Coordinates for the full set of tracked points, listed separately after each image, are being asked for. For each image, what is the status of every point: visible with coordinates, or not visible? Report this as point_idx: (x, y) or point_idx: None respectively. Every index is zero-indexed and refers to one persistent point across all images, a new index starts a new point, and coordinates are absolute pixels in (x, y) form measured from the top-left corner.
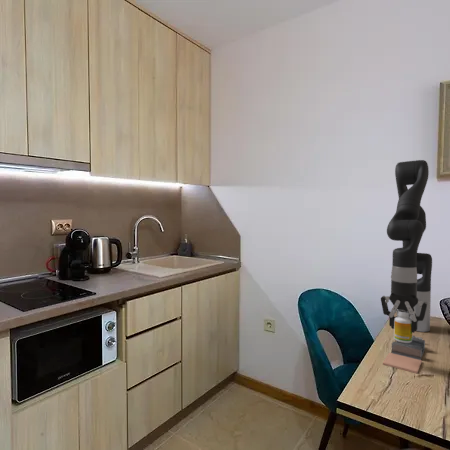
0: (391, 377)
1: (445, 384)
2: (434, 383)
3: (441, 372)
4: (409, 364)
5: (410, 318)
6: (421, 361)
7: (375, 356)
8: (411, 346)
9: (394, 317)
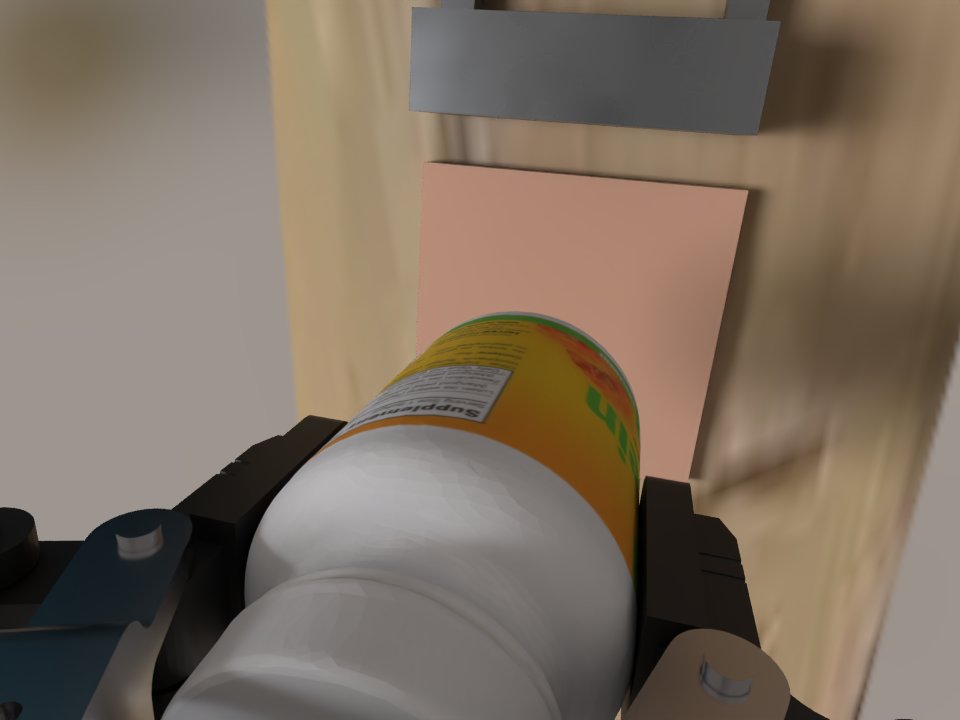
0: None
1: (897, 576)
2: (807, 591)
3: (917, 352)
4: (623, 369)
5: (582, 656)
6: (743, 211)
7: (336, 292)
8: (641, 62)
9: (240, 579)
